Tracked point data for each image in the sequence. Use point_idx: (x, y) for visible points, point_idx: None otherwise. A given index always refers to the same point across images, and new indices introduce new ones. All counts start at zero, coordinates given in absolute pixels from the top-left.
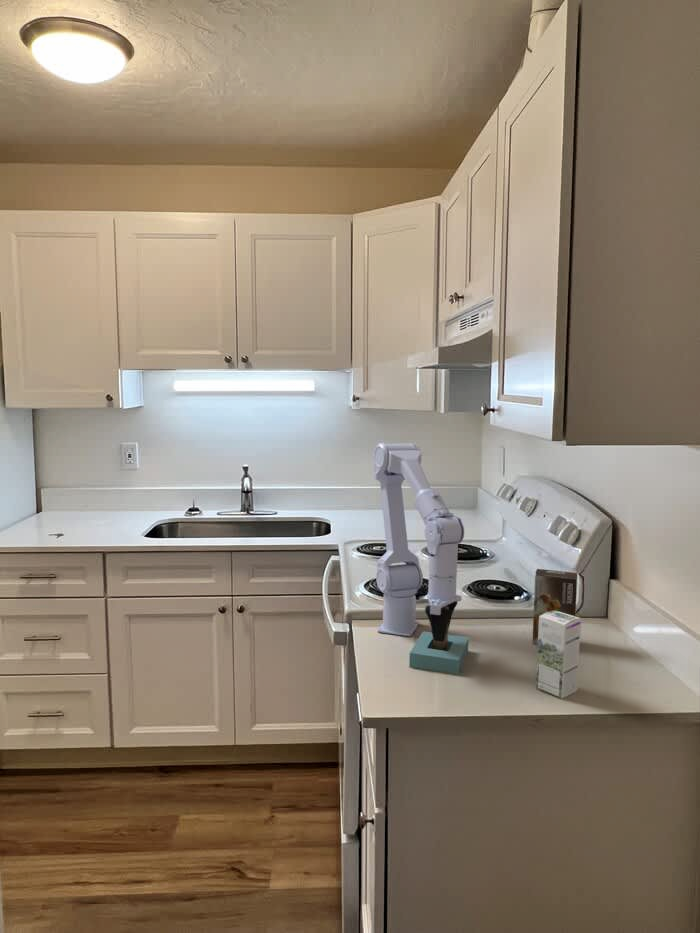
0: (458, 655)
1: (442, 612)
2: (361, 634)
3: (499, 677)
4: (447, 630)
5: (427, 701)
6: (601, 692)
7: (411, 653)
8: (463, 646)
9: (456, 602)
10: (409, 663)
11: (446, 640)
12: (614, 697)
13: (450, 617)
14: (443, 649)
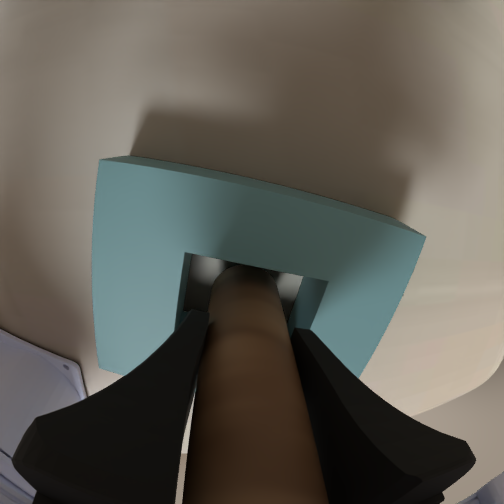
0: (381, 234)
1: (437, 494)
2: None
3: (398, 64)
4: (271, 345)
5: (495, 304)
6: None
7: None
8: (250, 194)
9: (91, 496)
10: None
11: (272, 309)
12: None
13: (187, 388)
14: (278, 297)
